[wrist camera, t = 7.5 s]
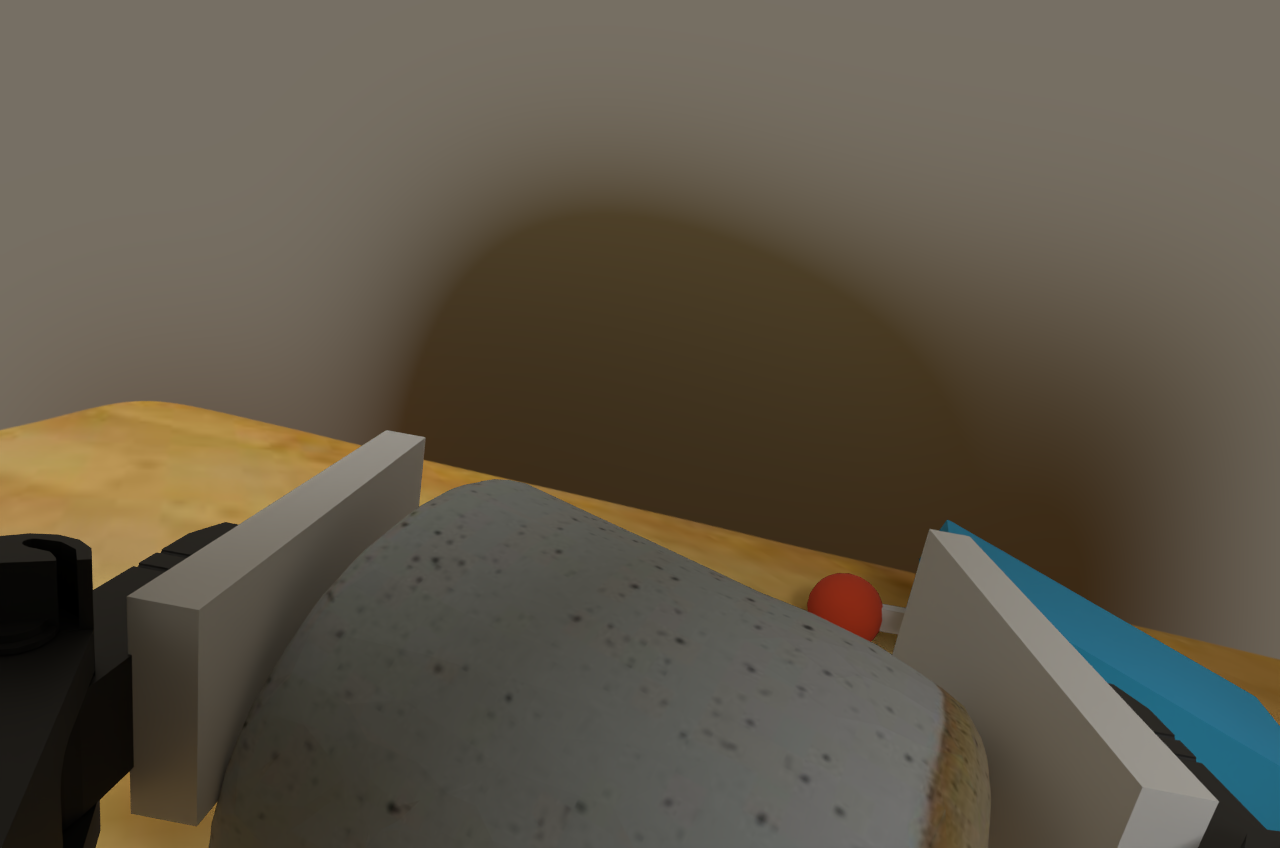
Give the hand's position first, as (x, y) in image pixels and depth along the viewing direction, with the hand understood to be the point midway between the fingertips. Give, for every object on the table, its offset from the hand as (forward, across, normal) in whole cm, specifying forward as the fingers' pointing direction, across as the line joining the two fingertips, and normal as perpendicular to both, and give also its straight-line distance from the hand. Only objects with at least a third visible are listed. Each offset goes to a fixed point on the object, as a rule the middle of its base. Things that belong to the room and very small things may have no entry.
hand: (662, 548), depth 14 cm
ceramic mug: (-3, 0, -6) cm, 7 cm away
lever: (+16, +17, -11) cm, 26 cm away
